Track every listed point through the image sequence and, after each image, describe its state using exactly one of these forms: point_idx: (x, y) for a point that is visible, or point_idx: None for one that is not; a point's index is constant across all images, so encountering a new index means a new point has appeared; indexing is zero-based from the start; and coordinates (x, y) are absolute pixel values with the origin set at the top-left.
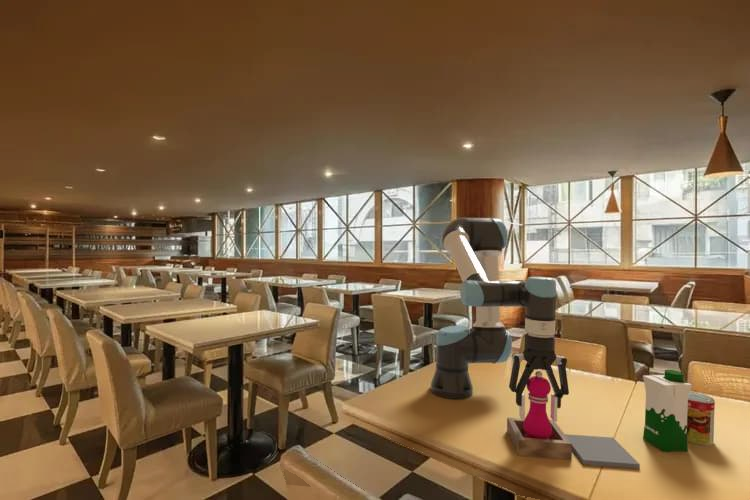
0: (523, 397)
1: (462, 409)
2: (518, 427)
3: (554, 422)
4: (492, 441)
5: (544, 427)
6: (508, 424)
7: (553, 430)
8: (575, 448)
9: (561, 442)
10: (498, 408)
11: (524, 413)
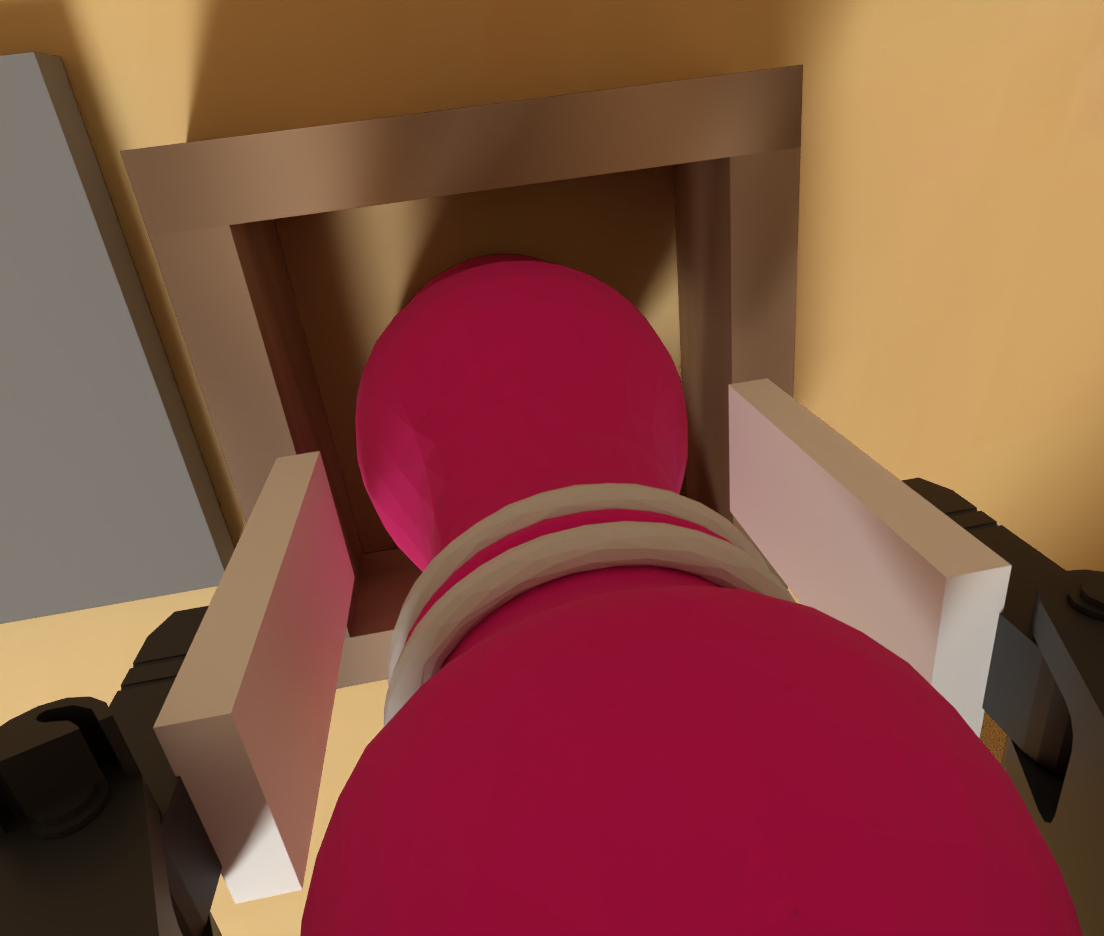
0: (955, 542)
1: (998, 756)
2: None
3: None
4: (908, 302)
5: (465, 313)
6: None
7: None
8: (121, 314)
9: (260, 155)
10: None
11: (768, 417)
